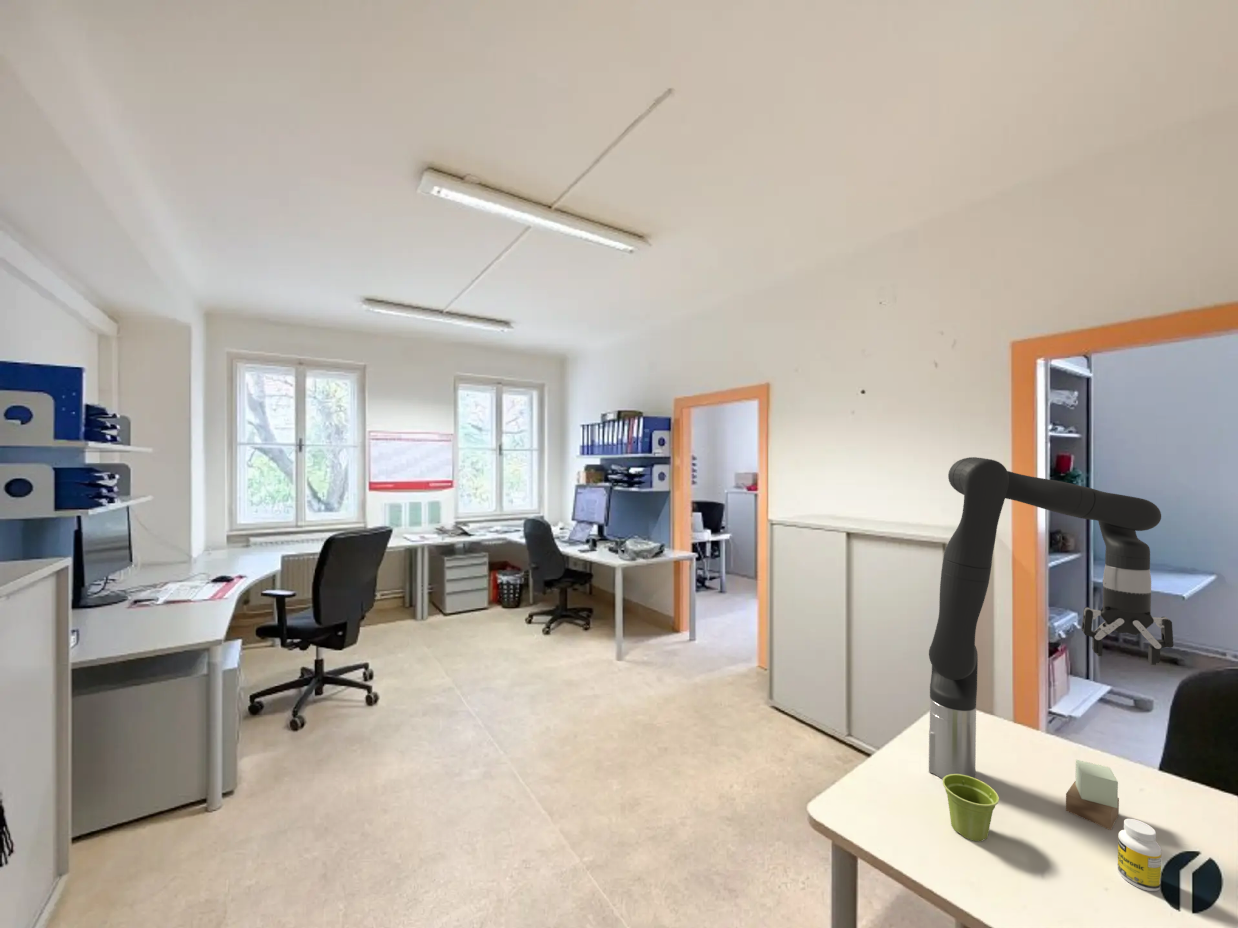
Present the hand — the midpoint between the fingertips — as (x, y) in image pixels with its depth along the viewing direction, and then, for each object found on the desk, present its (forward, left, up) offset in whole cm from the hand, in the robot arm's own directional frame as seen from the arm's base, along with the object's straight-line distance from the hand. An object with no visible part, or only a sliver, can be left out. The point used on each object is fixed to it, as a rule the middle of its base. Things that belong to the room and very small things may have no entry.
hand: (1125, 659), depth 113 cm
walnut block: (-7, -12, -30) cm, 33 cm away
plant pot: (-29, -32, -30) cm, 53 cm away
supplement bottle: (-4, -30, -30) cm, 43 cm away
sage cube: (-7, -12, -26) cm, 30 cm away
